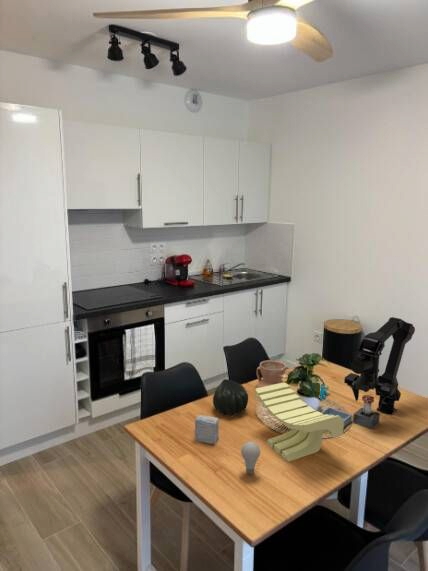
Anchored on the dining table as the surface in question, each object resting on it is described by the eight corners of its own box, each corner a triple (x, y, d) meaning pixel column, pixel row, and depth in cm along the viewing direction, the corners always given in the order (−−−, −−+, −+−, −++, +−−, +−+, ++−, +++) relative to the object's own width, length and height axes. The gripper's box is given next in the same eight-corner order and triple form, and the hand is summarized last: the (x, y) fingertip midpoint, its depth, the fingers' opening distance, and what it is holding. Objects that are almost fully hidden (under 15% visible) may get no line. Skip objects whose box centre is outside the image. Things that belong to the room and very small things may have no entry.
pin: (363, 419, 175) (365, 394, 173) (373, 422, 172) (375, 397, 170) (358, 422, 171) (360, 397, 169) (369, 426, 168) (371, 400, 166)
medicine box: (218, 439, 159) (219, 417, 157) (214, 445, 154) (215, 423, 153) (199, 435, 161) (199, 414, 159) (194, 441, 157) (194, 419, 155)
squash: (259, 403, 175) (243, 370, 181) (231, 415, 167) (215, 380, 172) (243, 414, 186) (228, 383, 191) (215, 426, 177) (201, 392, 182)
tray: (328, 413, 179) (328, 406, 178) (351, 421, 172) (351, 414, 172) (316, 422, 171) (316, 415, 171) (339, 431, 165) (340, 424, 164)
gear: (312, 398, 189) (306, 377, 194) (306, 403, 193) (300, 382, 199) (333, 398, 193) (327, 377, 198) (326, 403, 197) (320, 382, 203)
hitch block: (360, 416, 177) (361, 407, 176) (379, 422, 172) (379, 413, 171) (353, 422, 171) (353, 413, 171) (371, 429, 166) (372, 420, 166)
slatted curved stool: (340, 462, 145) (344, 414, 142) (303, 475, 138) (306, 424, 134) (287, 422, 171) (289, 381, 168) (253, 431, 164) (255, 388, 161)
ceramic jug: (296, 395, 195) (297, 366, 193) (274, 404, 186) (275, 373, 184) (268, 383, 209) (269, 356, 207) (246, 391, 200) (247, 362, 198)
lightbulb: (239, 468, 141) (240, 438, 139) (257, 467, 141) (258, 437, 139) (242, 480, 135) (242, 448, 133) (261, 479, 135) (262, 447, 133)
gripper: (339, 366, 167) (336, 403, 170) (386, 380, 155) (383, 419, 158) (351, 359, 176) (349, 394, 179) (397, 371, 163) (394, 409, 166)
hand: (367, 404), depth 170 cm, fingers open, 9 cm apart
